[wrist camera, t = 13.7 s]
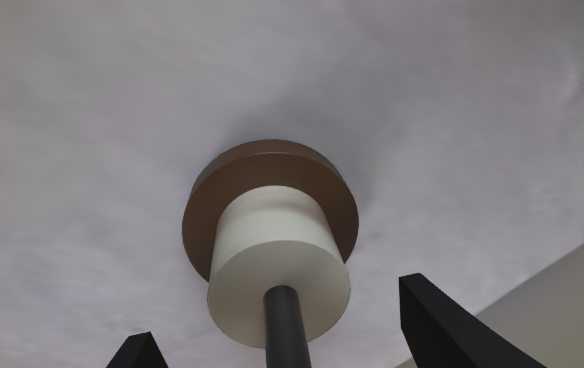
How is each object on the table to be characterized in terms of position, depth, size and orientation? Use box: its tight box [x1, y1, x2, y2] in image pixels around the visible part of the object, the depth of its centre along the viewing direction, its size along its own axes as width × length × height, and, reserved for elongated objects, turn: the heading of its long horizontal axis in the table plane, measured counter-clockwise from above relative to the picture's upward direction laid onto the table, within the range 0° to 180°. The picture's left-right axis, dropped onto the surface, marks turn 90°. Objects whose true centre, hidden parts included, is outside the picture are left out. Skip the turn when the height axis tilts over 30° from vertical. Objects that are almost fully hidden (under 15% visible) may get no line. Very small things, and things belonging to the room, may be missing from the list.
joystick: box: [182, 140, 359, 368], centre depth 11 cm, size 11×8×8 cm
